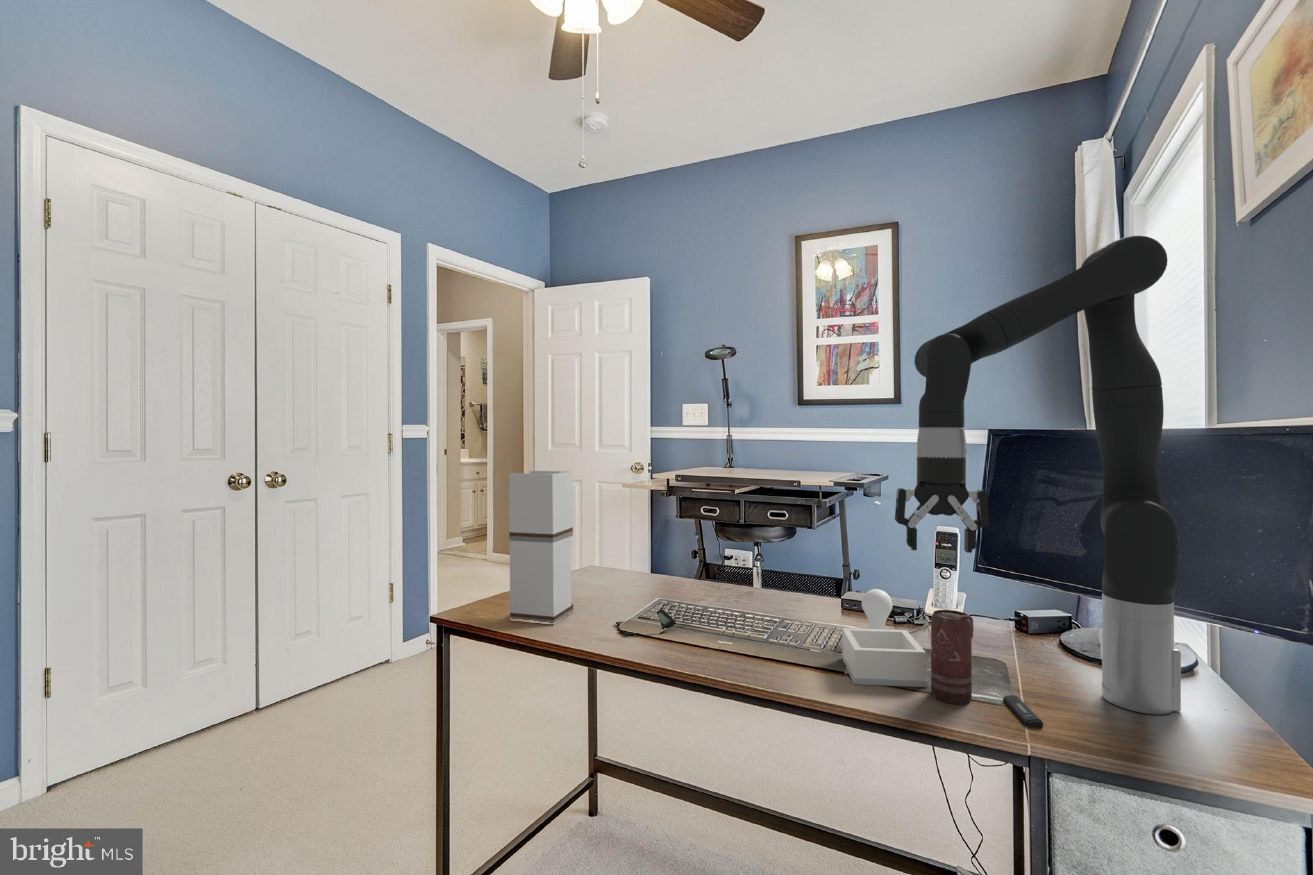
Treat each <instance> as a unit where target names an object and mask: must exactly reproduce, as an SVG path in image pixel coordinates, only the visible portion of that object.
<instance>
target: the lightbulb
mask: <svg viewBox="0 0 1313 875" xmlns="http://www.w3.org/2000/svg"><path fill="white" fill-rule="evenodd" d="M861 606H862V610H863V612H864V613H865V615H866V618H867V621H868V627H869V628H868V629H883V630H886V623H887V620H888V618H889V616H890V614H891V612H892V610H893V600H892V599H891V596H890V595H889V594H888V593H887V592H886V591H884V590H883V589H879V588H872V589H870V590H868V591H867V592H865V593H864V594H863V596H862V599H861Z"/></svg>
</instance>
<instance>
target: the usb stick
mask: <svg viewBox="0 0 1313 875" xmlns="http://www.w3.org/2000/svg"><path fill="white" fill-rule="evenodd" d="M1002 700H1003V702H1004V704H1005V705H1006V706H1007V707H1008V708H1009V709H1010V710H1011V711H1012V712H1013V713H1014V714H1015V715H1016V717H1017V718H1018V719H1019V720H1020V721H1021V722H1022V723H1023V725H1024V726H1026V727H1028V728H1031V729H1042V728H1043V727H1044V723H1043V721H1042V719H1041V718H1039V716H1038V715H1037V714H1036V713H1035V712H1034V711H1033V710H1031V709H1030V707H1029V706H1027V705H1026V703H1025V702H1024V701H1022V699H1021V698H1019V696H1018V695H1015V694H1012V695H1011V694H1010V695H1005V696H1003V699H1002Z"/></svg>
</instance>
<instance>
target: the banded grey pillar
mask: <svg viewBox="0 0 1313 875" xmlns="http://www.w3.org/2000/svg"><path fill="white" fill-rule="evenodd" d="M573 492H574V491H573V471H571V470H570V471H568V470H567V471H566V470H565V471H564V470H563V471H562V470H560V471H559V470H529V473H516V472H515V473H514V472H513V473H508V513H509V514H508V516H509V517H508V520H509V521H508V522H509V524H508V527H509V528H508V529H509V531H508V532H509V534H508V535H509V537H508V538H509V539H508V540H509V611H510V612H509V617H510V618H512V619H523V620H534V621H539V622H549V623H555V622H557V621H558V620H560V619H562V618H563V617H565V616H566V615H568V614H569V613H571V612H572V611H574V604H573V603H572V542H574V535H573V534H574V529H573V528H574V527H573V526H574V523H573V522H574V520H573V519H574V518H573V517H574V512H573V510H574V507H573V498H574V497H573V495H574V493H573ZM510 618H509V619H510Z"/></svg>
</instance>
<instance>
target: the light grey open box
mask: <svg viewBox="0 0 1313 875" xmlns="http://www.w3.org/2000/svg"><path fill="white" fill-rule="evenodd" d="M841 632H842V634H841V635H842V639H841V640H842V653H841V654H842V657H843V660H844V662H845V665H846V667H845V669H846V668H847V669H846V671H847V674H848V675H849V677H850V680H851V682H852V683H853V685H864V686H888V687H910V688H911V687H913V688H914V687H916V688H928V680H927V664H926V663H927V652H926V651H925V650H924V649H923V647H922V646H921V645H920V644H919V643H918V642H917V640H915V638H914V637H913V636H912V635H911V634H910V633H909V631H908V630H907V629H906V630H905V629H884V630H883V629H870V628H849V627H847V628H845V627H844V628H843V627H842V631H841ZM845 665H844V666H845Z"/></svg>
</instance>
